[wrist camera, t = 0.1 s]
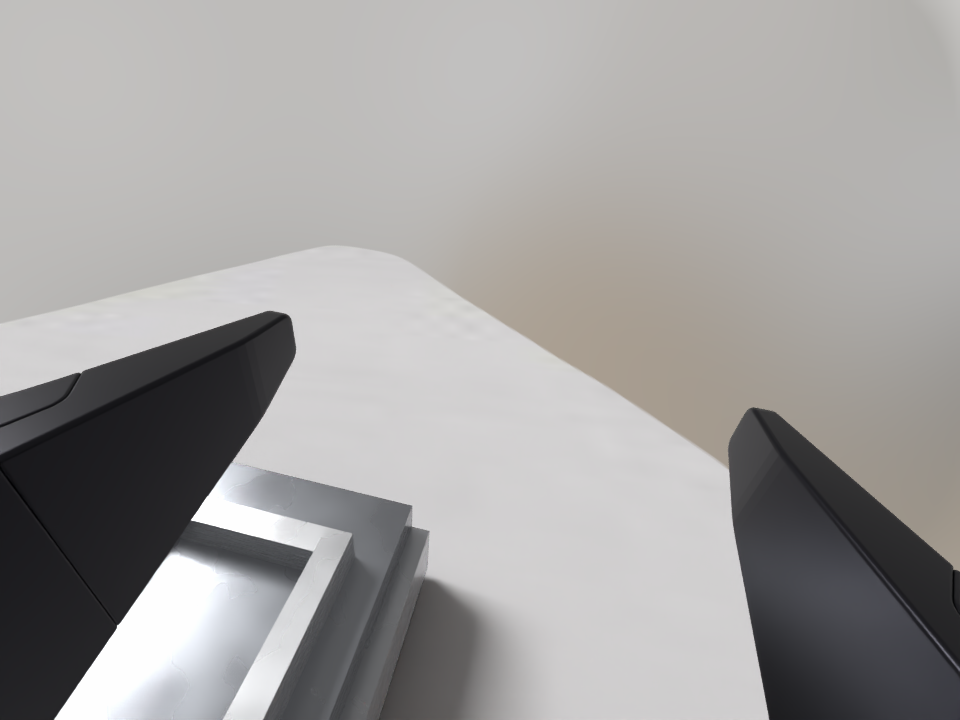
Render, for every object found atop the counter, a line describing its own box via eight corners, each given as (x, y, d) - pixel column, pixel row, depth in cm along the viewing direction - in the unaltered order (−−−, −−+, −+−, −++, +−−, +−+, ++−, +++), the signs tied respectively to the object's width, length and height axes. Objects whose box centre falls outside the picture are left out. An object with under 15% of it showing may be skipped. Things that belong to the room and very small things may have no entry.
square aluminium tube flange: (265, 1082, 12) (201, 1119, 8) (-155, 918, 14) (-377, 885, 10) (426, 573, 23) (431, 487, 20) (185, 510, 25) (145, 419, 21)
